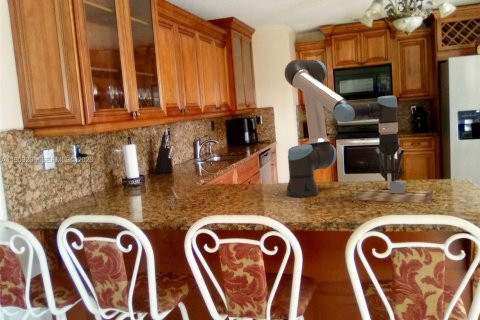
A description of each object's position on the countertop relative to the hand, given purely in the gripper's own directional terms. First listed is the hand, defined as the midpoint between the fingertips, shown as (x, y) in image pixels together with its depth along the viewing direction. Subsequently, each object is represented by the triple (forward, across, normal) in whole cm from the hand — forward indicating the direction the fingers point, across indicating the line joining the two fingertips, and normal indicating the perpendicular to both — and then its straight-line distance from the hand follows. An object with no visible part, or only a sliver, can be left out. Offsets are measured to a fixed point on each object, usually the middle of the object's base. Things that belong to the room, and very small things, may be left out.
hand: (390, 188), depth 174 cm
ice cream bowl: (+5, -3, +20) cm, 21 cm away
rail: (+5, +1, 0) cm, 5 cm away
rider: (+3, +3, 0) cm, 4 cm away
